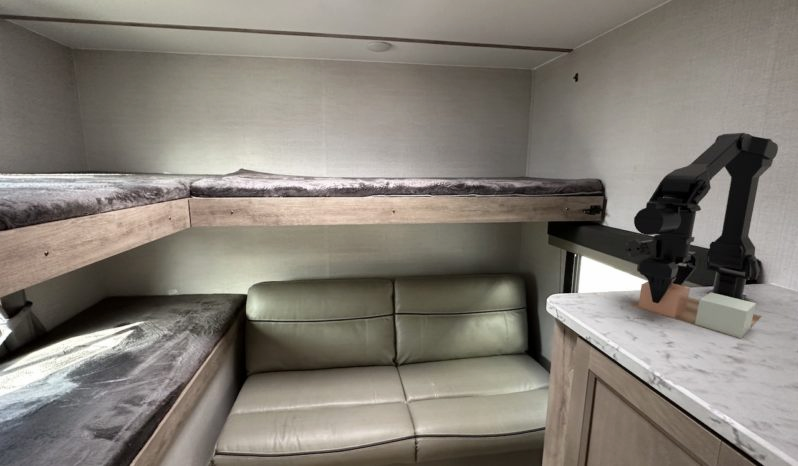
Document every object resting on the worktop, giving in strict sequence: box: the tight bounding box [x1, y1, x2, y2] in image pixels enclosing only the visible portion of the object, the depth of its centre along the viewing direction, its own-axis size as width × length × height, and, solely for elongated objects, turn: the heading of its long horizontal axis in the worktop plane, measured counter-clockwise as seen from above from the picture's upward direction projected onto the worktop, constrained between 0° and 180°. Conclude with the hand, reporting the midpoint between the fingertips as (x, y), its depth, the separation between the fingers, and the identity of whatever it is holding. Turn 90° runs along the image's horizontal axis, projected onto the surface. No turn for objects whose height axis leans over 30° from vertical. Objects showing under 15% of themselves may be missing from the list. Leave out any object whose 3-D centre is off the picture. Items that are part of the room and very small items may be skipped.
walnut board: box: [632, 296, 763, 340], centre depth 78 cm, size 18×18×1 cm
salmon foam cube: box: [638, 281, 691, 319], centre depth 79 cm, size 7×7×6 cm
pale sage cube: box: [695, 292, 757, 339], centre depth 70 cm, size 7×7×6 cm
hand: (663, 298), depth 79 cm, fingers open, 9 cm apart
